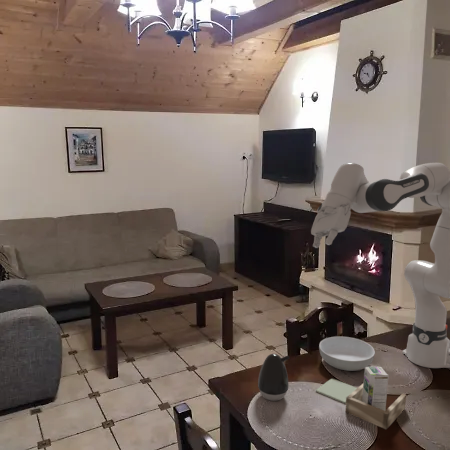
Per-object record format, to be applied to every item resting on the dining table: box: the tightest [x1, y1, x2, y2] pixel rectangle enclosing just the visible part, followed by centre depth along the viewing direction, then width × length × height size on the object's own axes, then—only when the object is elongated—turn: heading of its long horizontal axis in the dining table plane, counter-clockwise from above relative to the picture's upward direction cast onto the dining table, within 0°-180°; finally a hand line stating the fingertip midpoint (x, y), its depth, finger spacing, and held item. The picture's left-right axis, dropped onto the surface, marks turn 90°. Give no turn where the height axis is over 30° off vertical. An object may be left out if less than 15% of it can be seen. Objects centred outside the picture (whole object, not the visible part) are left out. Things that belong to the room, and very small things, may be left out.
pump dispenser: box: [257, 353, 290, 402], centre depth 154 cm, size 10×10×15 cm
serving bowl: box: [318, 336, 376, 372], centre depth 178 cm, size 21×21×7 cm
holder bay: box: [345, 382, 407, 430], centre depth 147 cm, size 15×13×5 cm
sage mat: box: [315, 377, 358, 405], centre depth 159 cm, size 11×11×1 cm
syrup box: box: [362, 365, 389, 411], centre depth 145 cm, size 6×6×14 cm
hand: (321, 245), depth 147 cm, fingers open, 8 cm apart
